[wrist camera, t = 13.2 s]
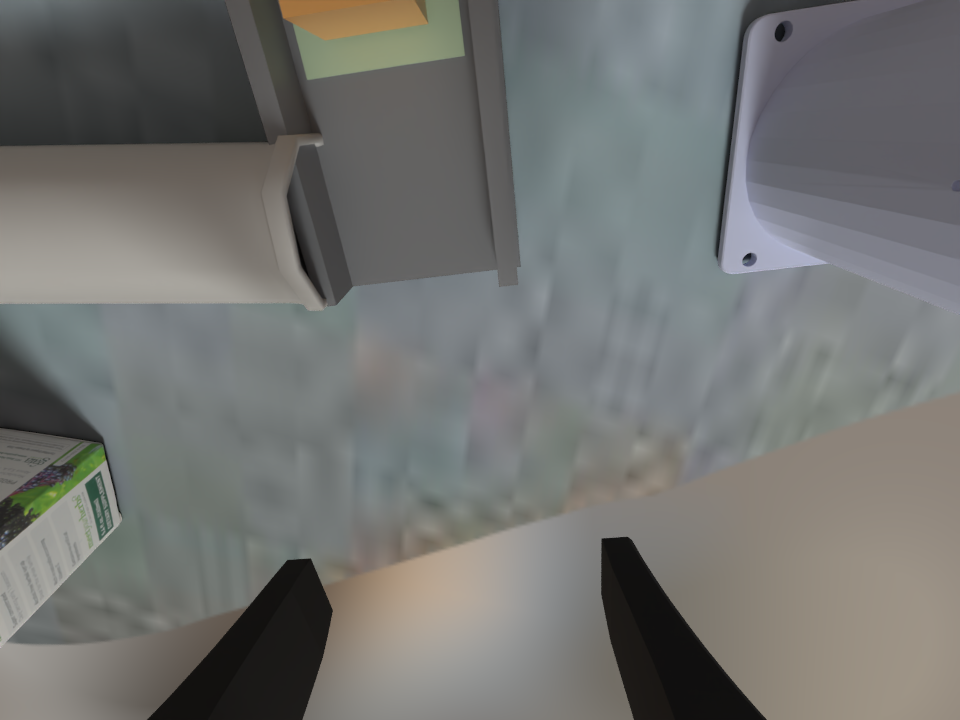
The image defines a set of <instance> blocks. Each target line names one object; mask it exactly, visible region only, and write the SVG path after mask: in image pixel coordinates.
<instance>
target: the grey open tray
mask: <svg viewBox="0 0 960 720" xmlns="http://www.w3.org/2000/svg"><path fill="white" fill-rule="evenodd" d="M225 3H226V7H227V10H228V13H229V16H230V20H231V23H232V26H233V29H234V33H235V36H236V39H237V42H238V46H239V49H240V52H241V55H242V59H243V62H244V65H245V69H246V72H247V75H248V78H249V82H250V85H251V88H252V91H253V95H254V98H255V101H256V104H257V108H258V111H259V114H260V117H261V121H262V124H263V127H264V130H265V134H266V137H267V140H268V144H269V145H272V144H275V142H276V140H277V137H278V136H283V135H297V134H309V133H320V134H321V135H322V137H323V144H324V145H322V146H319V147H316V146H315V144H309V145H302V146H299V150H298V154H297V158H296V162H295V165H294V169H293V173H292V177H291V181H290V185H289V188H288V192H287V200H288V205H289V210H290V215H291V219H292V222H293V225H294V228H295V232H296V235H297V238H298V241H299V245H300V248H301V251H302V254H303V258H304V261H305V264H306V267H307V271H308V274H309V277H310V281H311V282H312V284H313V285H314V287H315V288H316V290H317V292H318V293H319V295H320V296H321V298H323V299H327V303H328V305H327V306H335V305H337V304H338V303H339V302H340V300H341V299H342V298H343V297H344V296H345V295H346V294H347V292H348V291H349V290H350V289H351V288H352V287H353V286H360V285H369V284H377V283H386V282H395V281H403V280H412V279H420V278H429V277H437V276H446V275H454V274H463V273H472V272H480V271H489V270H498V279H499V287H502V286H510V285H518V278H517V267H521V265H520V254H519V242H518V230H517V219H516V207H515V195H514V183H513V172H512V160H511V148H510V137H509V125H508V113H507V102H506V90H505V78H504V66H503V55H502V43H501V31H500V20H499V8H498V0H425V4H426V11H427V18H428V24H424V25H418V26H412V27H406V28H400V29H393V30H387V31H381V32H375V33H368V34H362V35H356V36H350V37H343V38H337V39H331V40H323V39H321V38H319V37H318V36H316V35H314V34H312V33H310V32H308V31H306V30H304V29H303V28H301V27H299V26H297V25H295V24H293V23H291V22H289V21H288V20H286V19H284V18H283V15H282V11H281V8H280V4H279V0H225Z"/></svg>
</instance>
